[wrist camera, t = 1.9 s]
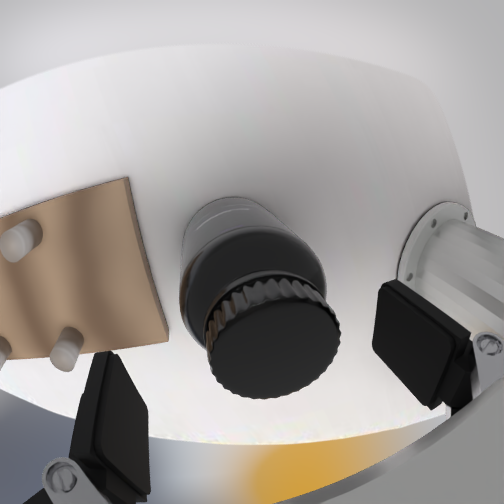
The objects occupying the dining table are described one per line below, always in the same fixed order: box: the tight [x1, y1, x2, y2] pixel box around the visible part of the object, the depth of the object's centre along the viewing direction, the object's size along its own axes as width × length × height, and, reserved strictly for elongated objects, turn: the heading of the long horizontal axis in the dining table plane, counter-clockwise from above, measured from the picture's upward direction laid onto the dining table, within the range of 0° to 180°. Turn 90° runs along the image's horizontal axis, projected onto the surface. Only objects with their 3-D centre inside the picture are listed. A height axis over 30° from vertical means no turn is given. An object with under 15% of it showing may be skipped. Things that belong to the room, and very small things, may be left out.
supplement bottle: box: [179, 197, 341, 399], centre depth 15 cm, size 7×7×12 cm
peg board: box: [0, 177, 169, 372], centre depth 16 cm, size 20×12×4 cm, turn 97°
